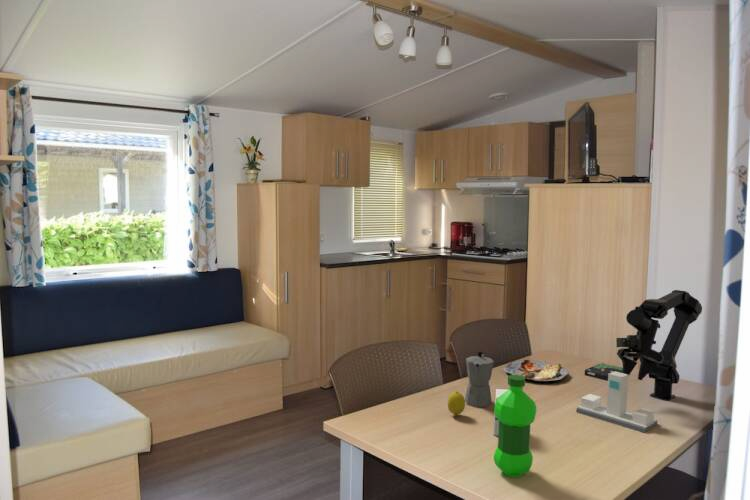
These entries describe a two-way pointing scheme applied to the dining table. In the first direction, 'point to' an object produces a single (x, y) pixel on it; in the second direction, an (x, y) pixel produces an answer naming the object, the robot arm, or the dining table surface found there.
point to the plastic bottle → (514, 428)
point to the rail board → (636, 420)
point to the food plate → (537, 370)
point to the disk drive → (602, 371)
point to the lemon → (456, 403)
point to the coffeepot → (479, 380)
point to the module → (617, 394)
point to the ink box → (496, 421)
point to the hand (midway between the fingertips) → (631, 379)
